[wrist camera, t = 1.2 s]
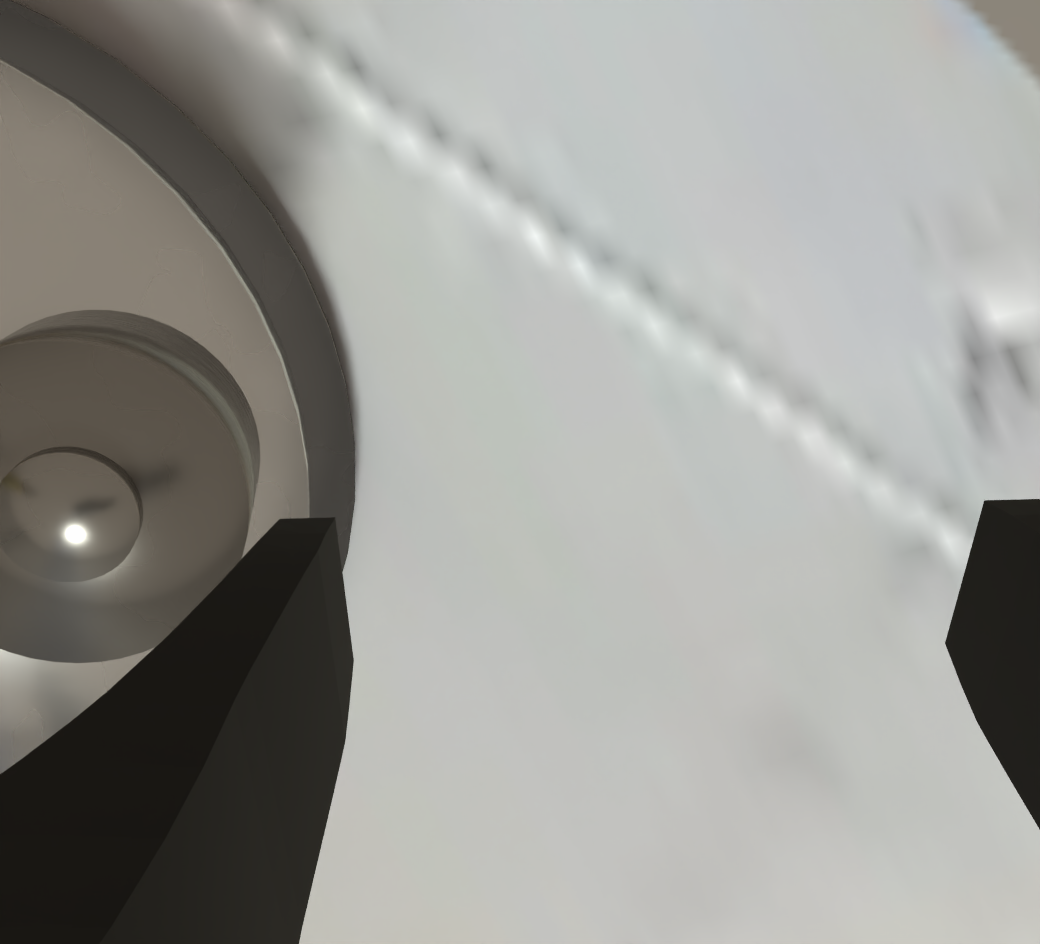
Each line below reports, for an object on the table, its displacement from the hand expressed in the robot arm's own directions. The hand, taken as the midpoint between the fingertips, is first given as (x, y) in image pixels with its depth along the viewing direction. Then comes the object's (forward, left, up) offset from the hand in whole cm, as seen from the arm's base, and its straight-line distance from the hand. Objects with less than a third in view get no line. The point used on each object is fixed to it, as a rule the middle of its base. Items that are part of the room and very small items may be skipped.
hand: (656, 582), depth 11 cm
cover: (-5, +6, -10) cm, 12 cm away
